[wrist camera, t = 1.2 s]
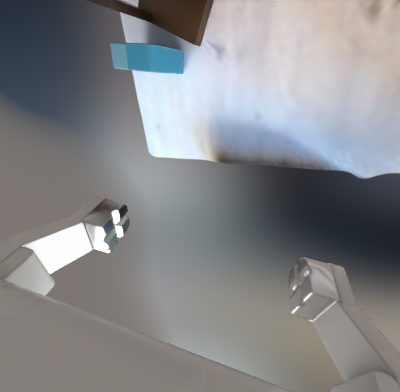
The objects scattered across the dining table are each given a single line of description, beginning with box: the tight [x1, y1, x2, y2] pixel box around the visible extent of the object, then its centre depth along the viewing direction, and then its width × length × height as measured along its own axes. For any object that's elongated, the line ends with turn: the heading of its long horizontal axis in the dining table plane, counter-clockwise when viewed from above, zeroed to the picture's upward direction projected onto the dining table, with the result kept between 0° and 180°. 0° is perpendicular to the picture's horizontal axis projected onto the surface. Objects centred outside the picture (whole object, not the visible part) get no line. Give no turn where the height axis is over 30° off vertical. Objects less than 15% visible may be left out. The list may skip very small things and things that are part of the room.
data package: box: [110, 42, 184, 74], centre depth 45 cm, size 12×4×12 cm, turn 86°
